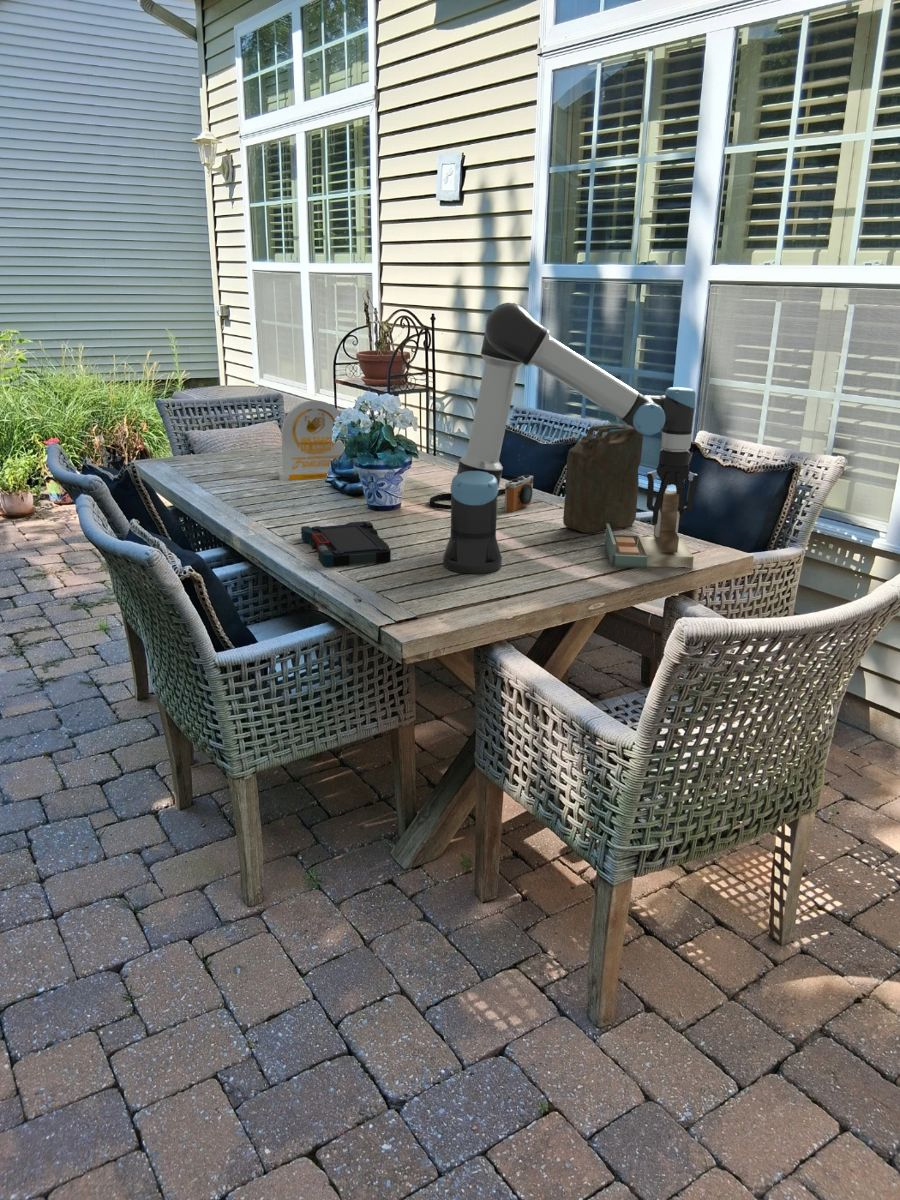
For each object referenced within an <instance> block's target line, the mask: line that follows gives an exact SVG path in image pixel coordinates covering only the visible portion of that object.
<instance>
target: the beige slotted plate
mask: <svg viewBox="0 0 900 1200" xmlns="http://www.w3.org/2000/svg"><path fill="white" fill-rule="evenodd" d="M638 547H639V549H640V551H641V554H642V556H647V567H657V568H678V567H686V568H685V569H693V567H694V558H695V557H694V555H693V554H692V551H690V548H689V547H688V545H687V544H686V542H685V541H684V539H683V537H679V542H678V551H677V553H675V552H662V551H661V549H660V547H659V545H658V543H657V541H656V539H655V538H654V536H638ZM687 567H688V568H687Z"/></svg>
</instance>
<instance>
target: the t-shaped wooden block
mask: <svg viewBox="0 0 900 1200" xmlns="http://www.w3.org/2000/svg"><path fill="white" fill-rule="evenodd" d="M678 503H679V494H678V493H677V492H676V490H666V491H665V493H663V500H662V503H661V506H660V509H659V511H660V512H661V523H660V532H659V537H656V536H655V528H656V524H654V526H653V527H654V528H653V537H654V538H655V539H656V541H657V543H658V545H659V547H660V549H661V551H662V552H675V553H677V551H678V542H679V538H680V537H679V535H678V534H676V532H675V530H676V521H677V512H678Z"/></svg>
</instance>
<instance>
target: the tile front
mask: <svg viewBox="0 0 900 1200" xmlns="http://www.w3.org/2000/svg"><path fill="white" fill-rule="evenodd" d="M618 555H635V556H639V550H638V548H637V547H620V546H618Z"/></svg>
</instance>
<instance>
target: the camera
mask: <svg viewBox="0 0 900 1200" xmlns="http://www.w3.org/2000/svg"><path fill="white" fill-rule="evenodd" d="M501 478H507V479H506V481H508V482H505V486H504V487H505V488H501V489H498V494H497V498H498V497H500V496H503V495H504V511H505V512H506V513H507V512H508V513H509V512H510V513H515V512H517V511H519V510H520V509H523V508H525V507H527V506H529V505H531V504H533V492H534V491H533V490H534V489H533V487H534V486H533V485H534V475H530V474H523V475H521V476H515V475H503V474H501ZM441 501H451V492H448V493H447V492H446V493H440V494H437V495H433V496H432V497H430V499H429V501H428V503H429V504H428V505H429V507H430V508H433V509H439V510H440V509H441V510H451V504H446V503H439V502H441Z"/></svg>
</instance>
